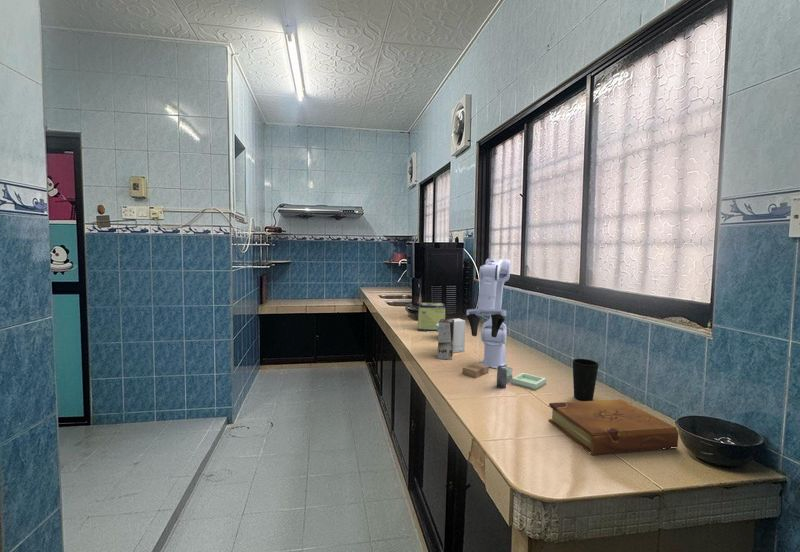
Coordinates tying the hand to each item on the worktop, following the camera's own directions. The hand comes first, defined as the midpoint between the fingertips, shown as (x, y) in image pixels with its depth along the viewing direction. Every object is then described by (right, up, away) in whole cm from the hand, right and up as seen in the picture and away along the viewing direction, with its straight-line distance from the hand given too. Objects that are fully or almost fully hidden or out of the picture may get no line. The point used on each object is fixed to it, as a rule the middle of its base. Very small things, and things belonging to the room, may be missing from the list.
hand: (483, 336), depth 133 cm
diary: (+26, -21, -31) cm, 46 cm away
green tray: (+17, -18, +6) cm, 26 cm away
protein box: (-10, -11, +96) cm, 97 cm away
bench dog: (+10, -17, +8) cm, 21 cm away
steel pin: (+7, -18, +2) cm, 19 cm away
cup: (+31, -19, -6) cm, 37 cm away
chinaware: (-2, -13, +72) cm, 74 cm away
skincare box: (-3, -15, +49) cm, 51 cm away
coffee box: (-9, -15, +39) cm, 43 cm away
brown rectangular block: (0, -17, +16) cm, 24 cm away
